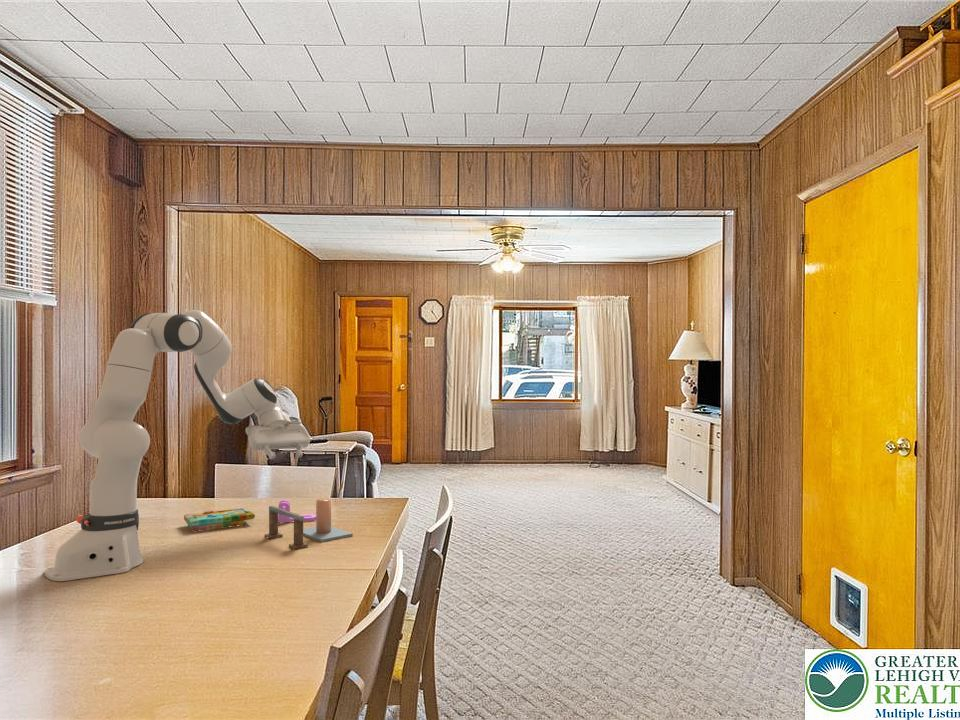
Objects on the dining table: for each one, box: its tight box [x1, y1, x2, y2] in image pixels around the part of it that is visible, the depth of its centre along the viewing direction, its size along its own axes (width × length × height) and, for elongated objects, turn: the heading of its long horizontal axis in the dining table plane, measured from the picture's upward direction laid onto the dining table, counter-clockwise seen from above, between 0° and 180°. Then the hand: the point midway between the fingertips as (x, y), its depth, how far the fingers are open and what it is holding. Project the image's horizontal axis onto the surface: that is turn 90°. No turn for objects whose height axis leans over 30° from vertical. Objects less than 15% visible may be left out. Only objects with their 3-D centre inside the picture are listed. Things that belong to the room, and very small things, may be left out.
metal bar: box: [268, 505, 304, 521], centre depth 206 cm, size 1×20×1 cm, turn 43°
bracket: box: [277, 499, 316, 522], centre depth 234 cm, size 13×6×7 cm, turn 105°
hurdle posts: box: [264, 510, 309, 550], centre depth 206 cm, size 4×20×8 cm, turn 43°
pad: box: [303, 525, 354, 543], centre depth 215 cm, size 11×16×1 cm
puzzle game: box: [183, 507, 256, 532], centre depth 227 cm, size 12×5×20 cm
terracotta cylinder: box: [315, 498, 332, 534], centre depth 215 cm, size 5×5×10 cm
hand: (286, 457), depth 220 cm, fingers open, 8 cm apart
